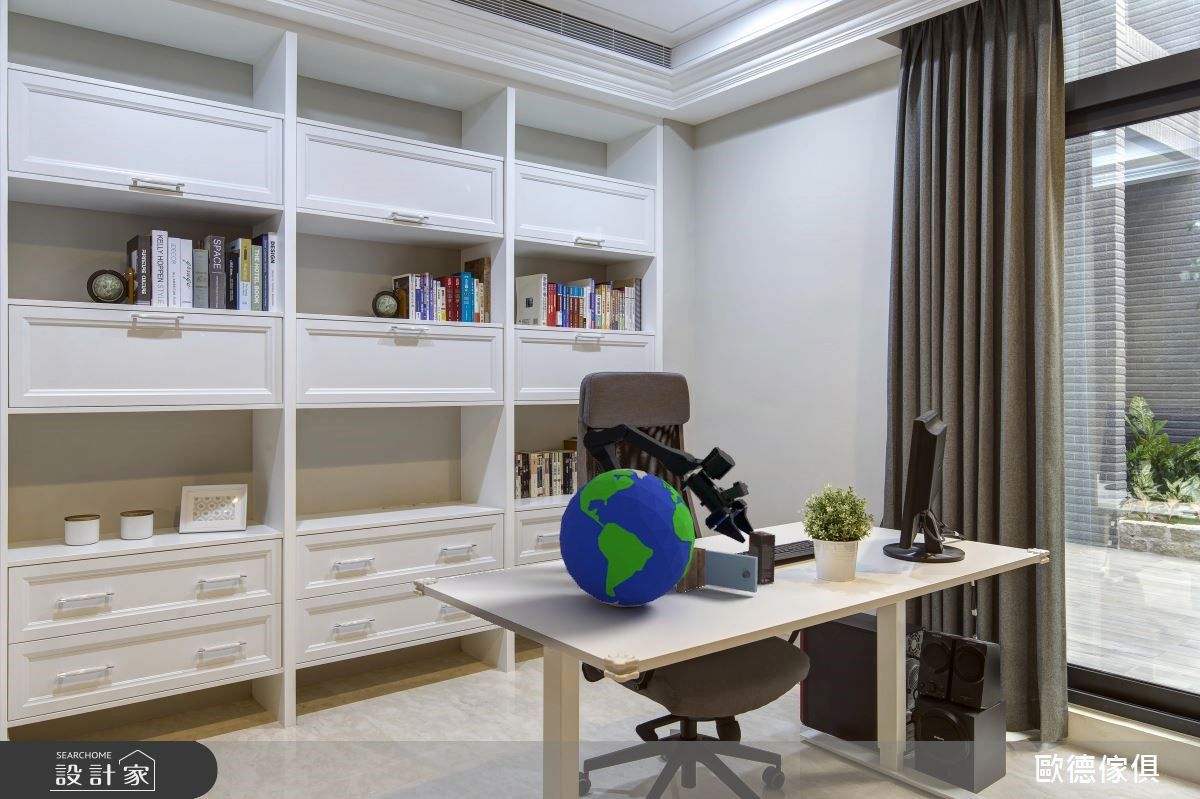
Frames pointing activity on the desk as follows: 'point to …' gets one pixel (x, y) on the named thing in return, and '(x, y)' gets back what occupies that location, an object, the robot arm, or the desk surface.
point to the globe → (626, 537)
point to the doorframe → (694, 572)
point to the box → (763, 554)
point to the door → (731, 570)
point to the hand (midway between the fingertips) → (749, 539)
